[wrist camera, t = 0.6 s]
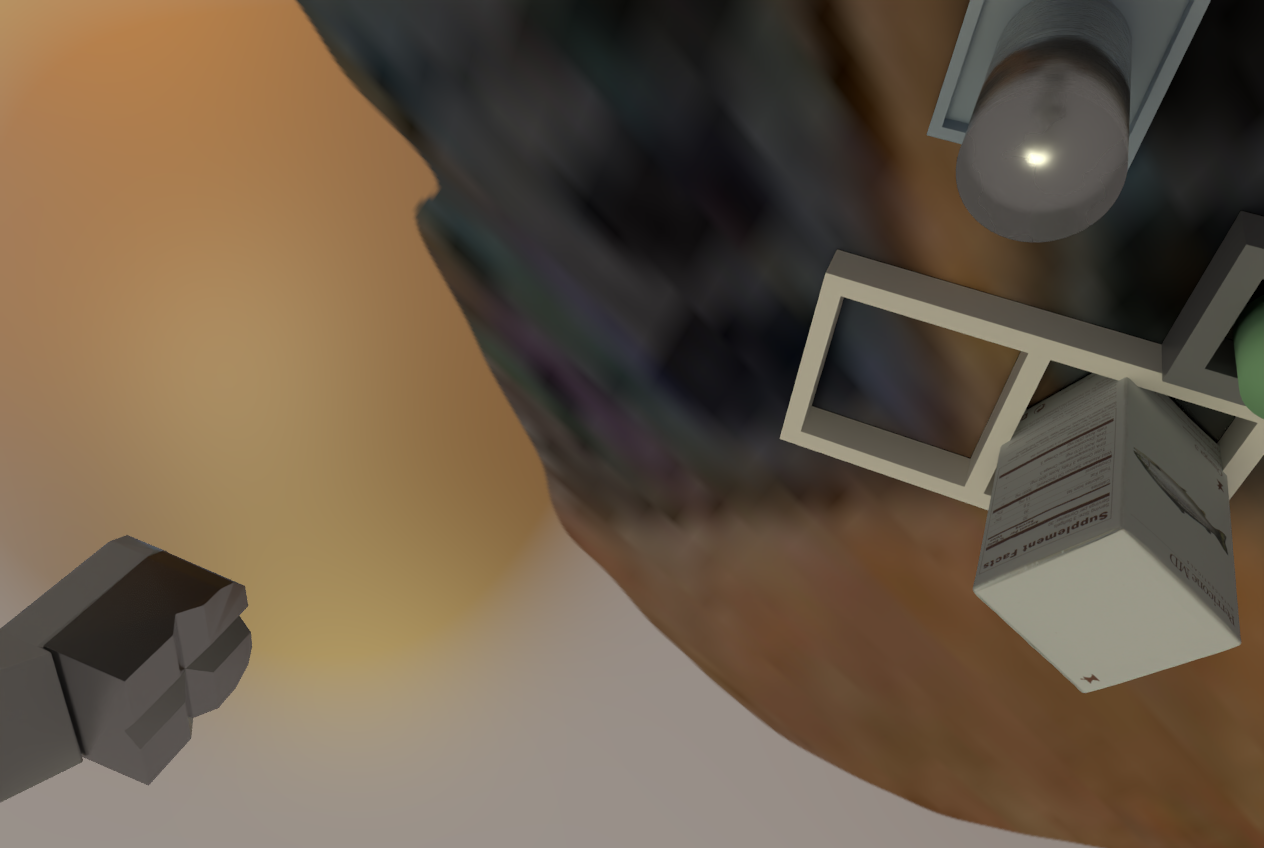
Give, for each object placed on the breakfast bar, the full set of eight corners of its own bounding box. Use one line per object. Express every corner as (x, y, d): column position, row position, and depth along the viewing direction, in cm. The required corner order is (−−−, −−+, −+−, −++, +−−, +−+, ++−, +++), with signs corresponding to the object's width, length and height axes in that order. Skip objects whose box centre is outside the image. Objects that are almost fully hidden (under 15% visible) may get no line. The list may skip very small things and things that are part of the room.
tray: (997, -79, 37) (992, -68, 35) (1217, -33, 35) (1220, -20, 34) (933, 119, 42) (926, 134, 41) (1121, 167, 40) (1120, 185, 39)
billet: (1020, -24, 37) (986, 73, 29) (1156, 6, 36) (1158, 115, 28) (976, 101, 40) (935, 218, 32) (1099, 132, 39) (1087, 260, 31)
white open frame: (790, 413, 55) (779, 438, 53) (837, 249, 48) (825, 272, 46) (1172, 541, 50) (1173, 573, 49) (1288, 381, 43) (1294, 413, 41)
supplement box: (1230, 449, 46) (1250, 651, 37) (1092, 510, 51) (1080, 701, 42) (1130, 345, 45) (1126, 528, 36) (998, 418, 50) (966, 594, 41)
